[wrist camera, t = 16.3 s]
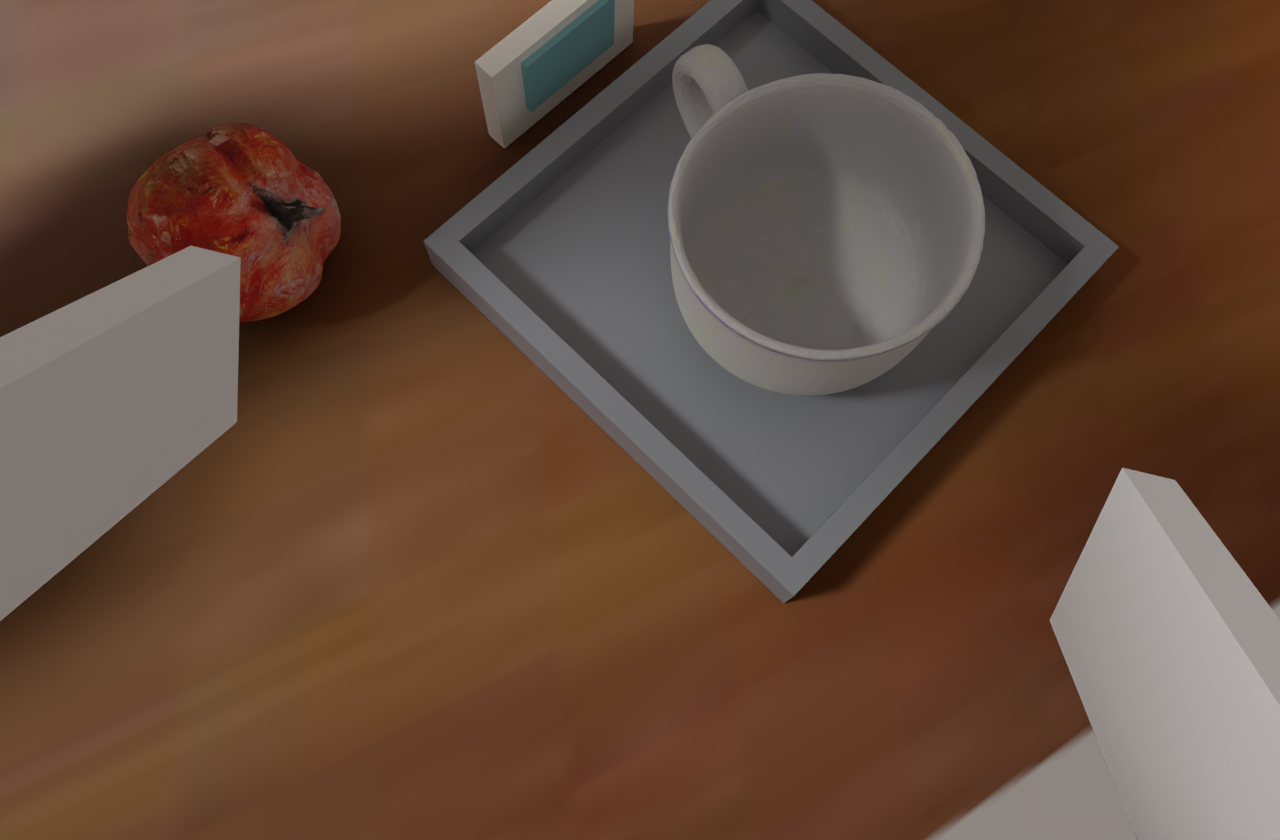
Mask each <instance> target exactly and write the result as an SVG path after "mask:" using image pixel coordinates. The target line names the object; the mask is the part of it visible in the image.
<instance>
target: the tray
mask: <svg viewBox="0 0 1280 840" xmlns="http://www.w3.org/2000/svg"><path fill="white" fill-rule="evenodd" d="M703 44H711V45H714V46H717V47H719V48H720V49H722V50H723V51H724V52H725V53H726V54H727V55H728V56H729V57H730V58H731V60H732V61H733V62H734V64H735V65H736V66H737V68H738V70H739V72H740V74H741V75H742V77H743V79H744V82H745V84H746V86H747V88H748V90H751V89H753V88H756V87H758V86H761V85H764V84H767V83H770V82H773V81H776V80H780V79H785V78H789V77H793V76H799V75H805V74H816V73H828V74H845V75H851V76H856V77H862V78H865V79H869V80H872V81H875V82H878V83H881V84H884V85H887V86H890V87H892V88H894V89H897V90H899V91H901V92H902V93H904V94H906V95H907V96H909V97H911V98H912V99H914V100H915V101H917V102H919V103H921V104H922V105H923V106H924V107H925V108H926V109H927V110H928V111H930V112H931V113H932V114H933V115H934V116H935V117H936V118H938V119H940V120H942V122H943V123H944V124H945V126H946V127H947V129H948V130H950V131H951V132H953V134H954V135H955V136H956V138H957V139H958V141H959V142H960V144H961V145H962V147H963V149H964V150H965V152H966V154H967V156H968V157H969V159H970V160H971V163H972V165H973V167H974V169H975V171H976V174H977V178H978V181H979V184H980V187H981V191H982V196H983V202H984V209H985V234H984V239H983V249H982V251H981V256H980V261H979V263H978V266H977V269H976V272H975V274H974V277H973V279H972V281H971V283H970V285H969V287H968V290H967V291H966V293H965V294H964V295H963V297H962V298H961V300H960V301H959V302H958V304H957V305H956V307H955V308H954V309H953V310H952V311H951V312H950V313H949V314H948V315H947V316H946V317H945V318H944V319H943V320H942V321H941V322H940V323H939V324H938V325H936V326H935V327H934V328H933V329H931V330H930V332H929V333H928V334H927V335H926V336H925V337H924V339H923V340H922V341H921V342H920V343H919V344H918V345H917V346H916V347H915V348H914V349H913V350H912V351H911V352H910V353H909V354H908V355H907V356H906V357H904V358H903V359H902V360H901V361H900V362H899V363H898V364H897V365H895V366H894V367H892V368H891V369H890V370H888V371H887V372H885V373H884V374H882V375H880V376H879V377H877V378H875V379H873V380H871V381H869V382H867V383H865V384H863V385H860V386H858V387H855V388H853V389H849V390H845V391H842V392H838V393H833V394H827V395H817V396H797V395H789V394H781V393H777V392H773V391H769V390H766V389H763V388H760V387H757V386H755V385H752V384H750V383H748V382H746V381H744V380H742V379H740V378H739V377H737V376H735V375H733V374H732V373H730V372H729V371H727V370H726V369H725V368H723V367H722V366H721V365H720V364H718V363H717V362H716V361H715V360H714V359H713V358H712V357H711V356H710V355H709V354H708V353H707V352H706V351H705V350H704V349H703V348H702V347H701V346H700V344H699V343H698V342H697V340H696V339H695V337H694V336H693V334H692V333H691V331H690V329H689V328H688V326H687V324H686V322H685V320H684V318H683V316H682V313H681V311H680V308H679V305H678V302H677V299H676V295H675V291H674V287H673V280H672V272H671V261H670V237H669V232H668V196H669V189H670V185H671V182H672V179H673V175H674V172H675V169H676V166H677V163H678V161H679V160H680V158H681V156H682V155H683V153H684V151H685V149H686V146H687V144H688V143H689V142H690V140H691V137H690V135H689V133H688V131H687V129H686V126H685V124H684V122H683V119H682V117H681V114H680V112H679V109H678V106H677V103H676V100H675V96H674V92H673V83H672V73H673V68H674V66H675V64H676V61H677V60H678V59H679V58H680V57H681V56H682V55H684V54H685V53H686V52H688V51H689V50H691V49H692V48H694V47H696V46H700V45H703ZM423 242H424V244H425V247H426V250H427V252H428V255H429V258H430V260H431V263H432V266H433V267H434V268H436V269H437V270H438V271H439V272H440V273H441V274H442V275H443V276H444V277H445V278H446V279H447V280H448V281H449V282H450V283H451V284H452V285H453V286H454V287H455V288H456V289H457V290H458V291H459V292H460V293H461V294H463V295H464V296H465V297H466V298H467V299H468V300H469V301H470V302H471V303H472V304H473V305H474V306H475V307H476V308H477V309H478V310H479V311H480V312H481V313H482V314H483V315H484V316H485V317H486V318H487V319H489V320H490V321H491V322H492V323H493V324H494V325H495V326H496V327H497V328H498V329H499V330H500V331H501V332H502V333H503V334H504V335H505V336H506V337H507V338H508V339H509V340H510V341H511V342H512V343H513V344H514V345H516V346H517V347H518V348H519V349H520V350H521V351H522V352H523V353H524V354H525V355H526V356H527V357H528V358H529V359H530V360H531V361H532V362H533V363H534V364H535V365H536V366H537V367H538V368H539V369H540V370H542V371H543V372H544V373H545V374H546V375H547V376H548V377H549V378H550V379H551V380H552V381H553V382H554V383H555V384H556V385H557V386H558V387H559V388H560V389H561V390H562V391H563V392H564V393H565V394H566V395H568V396H569V397H570V398H571V399H572V400H573V401H574V402H575V403H576V404H577V405H578V406H579V407H580V408H581V409H582V410H583V411H584V412H585V413H586V414H587V415H588V416H589V417H590V418H591V419H592V420H593V421H595V422H596V423H597V424H598V425H599V426H600V427H601V428H602V429H603V430H604V431H605V432H606V433H607V434H608V435H609V436H610V437H611V438H612V439H613V440H614V441H615V442H616V443H617V444H618V445H619V446H621V447H622V448H623V449H624V450H625V451H626V452H627V453H628V454H629V455H630V456H631V457H632V458H633V459H634V460H635V461H636V462H637V463H638V464H639V465H640V466H641V467H642V468H643V469H644V470H645V471H646V472H648V473H649V474H650V475H651V476H652V477H653V478H654V479H655V480H656V481H657V482H658V483H659V484H660V485H661V486H662V487H663V488H664V489H665V490H666V491H667V492H668V493H669V494H670V495H671V496H672V497H674V498H675V499H676V500H677V501H678V502H679V503H680V504H681V505H682V506H683V507H684V508H685V509H686V510H687V511H688V512H689V513H690V514H691V515H692V516H693V517H694V518H695V519H696V520H697V521H698V522H700V523H701V524H702V525H703V526H704V527H705V528H706V529H707V530H708V531H709V532H710V533H711V534H712V535H713V536H714V537H715V538H716V539H717V540H718V541H719V542H720V543H721V544H722V545H723V546H724V547H725V548H727V549H728V550H729V551H730V552H731V553H732V554H733V555H734V556H735V557H736V558H737V559H738V560H739V561H740V562H741V563H742V564H743V565H744V566H745V567H746V568H747V569H748V570H749V571H750V572H751V573H753V574H754V575H755V576H756V577H757V578H758V579H759V580H760V581H761V582H762V583H763V584H764V585H765V586H766V587H767V588H768V589H769V590H770V591H771V592H772V593H773V594H774V595H775V596H776V597H777V598H778V599H780V600H781V601H782V602H783V603H785V602H787V601H788V600H789V599H791V598H792V597H793V596H795V595H796V593H797V592H798V591H799V590H800V589H801V588H802V587H803V586H804V585H805V584H806V583H807V582H808V581H809V579H810V578H811V577H812V576H813V575H814V574H815V573H816V572H817V571H818V570H819V569H820V568H821V567H822V566H823V564H824V563H825V562H826V561H827V560H828V559H829V558H830V557H831V556H832V555H833V554H834V553H835V552H836V550H837V549H838V548H839V547H840V546H841V545H842V544H843V543H844V542H845V541H846V540H847V539H848V538H849V537H850V535H851V534H852V533H853V532H854V531H855V530H856V529H857V528H858V527H859V526H860V525H861V524H862V523H863V521H864V520H865V519H866V518H867V517H868V516H869V515H870V514H871V513H872V512H873V511H874V510H875V509H876V507H877V506H878V505H879V504H880V503H881V502H882V501H883V500H884V499H885V498H886V497H887V496H888V495H889V494H890V492H891V491H892V490H893V489H894V488H895V487H896V486H897V485H898V484H899V483H900V482H901V481H902V480H903V478H904V477H905V476H906V475H907V474H908V473H909V472H910V471H911V470H912V469H913V468H914V467H915V466H916V465H917V463H918V462H919V461H920V460H921V459H922V458H923V457H924V456H925V455H926V454H927V453H928V452H929V451H930V449H931V448H932V447H933V446H934V445H935V444H936V443H937V442H938V441H939V440H940V439H941V438H942V437H943V435H944V434H945V433H946V432H947V431H948V430H949V429H950V428H951V427H952V426H953V425H954V424H955V423H956V422H957V420H958V419H959V418H960V417H961V416H962V415H963V414H964V413H965V412H966V411H967V410H968V409H969V408H970V406H971V405H972V404H973V403H974V402H975V401H976V400H977V399H978V398H979V397H980V396H981V395H982V394H983V393H984V391H985V390H986V389H987V388H988V387H989V386H990V385H991V384H992V383H993V382H994V381H995V380H996V379H997V377H998V376H999V375H1000V374H1001V373H1002V372H1003V371H1004V370H1005V369H1006V368H1007V367H1008V366H1009V365H1010V363H1011V362H1012V361H1013V360H1014V359H1015V358H1016V357H1017V356H1018V355H1019V354H1020V353H1021V352H1022V351H1023V350H1024V348H1025V347H1026V346H1027V345H1028V344H1029V343H1030V342H1031V341H1032V340H1033V339H1034V338H1035V337H1036V336H1037V334H1038V333H1039V332H1040V331H1041V330H1042V329H1043V328H1044V327H1045V326H1046V325H1047V324H1048V323H1049V322H1050V321H1051V319H1052V318H1053V317H1054V316H1055V315H1056V314H1057V313H1058V312H1059V311H1060V310H1061V309H1062V308H1063V307H1064V305H1065V304H1066V303H1067V302H1068V301H1069V300H1070V299H1071V298H1072V297H1073V296H1074V295H1075V294H1076V293H1077V291H1078V290H1079V289H1080V288H1081V287H1082V286H1083V285H1084V284H1085V283H1086V282H1087V281H1088V280H1089V279H1090V278H1091V276H1092V275H1093V274H1094V273H1095V272H1096V271H1097V270H1098V269H1099V268H1100V267H1101V266H1102V265H1103V264H1104V262H1105V261H1106V260H1107V259H1108V258H1109V257H1110V256H1111V255H1112V254H1113V253H1114V252H1115V251H1116V250H1117V249H1118V247H1119V246H1118V245H1116V244H1115V243H1114V242H1113V241H1111V240H1110V239H1109V238H1108V237H1106V236H1105V235H1104V234H1103V233H1101V232H1100V231H1099V230H1098V229H1096V228H1095V227H1094V226H1093V225H1092V224H1090V223H1089V222H1088V221H1087V220H1085V219H1084V218H1083V217H1082V216H1080V215H1079V214H1078V213H1077V212H1075V211H1074V210H1073V209H1072V208H1070V207H1069V206H1068V205H1067V204H1065V203H1064V202H1063V201H1062V200H1060V199H1059V198H1058V197H1057V196H1055V195H1054V194H1053V193H1052V192H1050V191H1049V190H1048V189H1047V188H1045V187H1044V186H1043V185H1042V184H1040V183H1039V182H1038V181H1037V180H1035V179H1034V178H1033V177H1032V176H1030V175H1029V174H1028V173H1027V172H1025V171H1024V170H1023V169H1022V168H1020V167H1019V166H1018V165H1017V164H1015V163H1014V162H1013V161H1012V160H1010V159H1009V158H1008V157H1007V156H1005V155H1004V154H1003V153H1002V152H1000V151H999V150H998V149H997V148H995V147H994V146H993V145H992V144H990V143H989V142H988V141H987V140H986V139H984V138H983V137H982V136H981V135H979V134H978V133H977V132H976V131H974V130H973V129H972V128H971V127H969V126H968V125H967V124H966V123H964V122H963V121H962V120H961V119H959V118H958V117H957V116H956V115H954V114H953V113H952V112H951V111H949V110H948V109H947V108H946V107H944V106H943V105H942V104H941V103H939V102H938V101H937V100H936V99H934V98H933V97H932V96H931V95H929V94H928V93H927V92H926V91H924V90H923V89H922V88H921V87H919V86H918V85H917V84H916V83H914V82H913V81H912V80H911V79H909V78H908V77H907V76H906V75H904V74H903V73H902V72H901V71H899V70H898V69H897V68H896V67H894V66H893V65H892V64H891V63H889V62H888V61H887V60H886V59H885V58H883V57H882V56H881V55H880V54H878V53H877V52H876V51H875V50H873V49H872V48H871V47H870V46H868V45H867V44H866V43H865V42H863V41H862V40H861V39H860V38H858V37H857V36H856V35H855V34H853V33H852V32H851V31H850V30H848V29H847V28H846V27H845V26H843V25H842V24H841V23H840V22H838V21H837V20H836V19H835V18H833V17H832V16H831V15H830V14H828V13H827V12H826V11H825V10H823V9H822V8H821V7H820V6H818V5H817V4H816V3H815V2H813V1H812V0H710V1H709V2H708V3H706V4H705V5H704V6H703V7H702V8H701V9H699V10H698V11H697V12H696V13H695V14H693V15H692V16H691V17H690V18H689V19H687V20H686V21H685V22H684V23H683V24H681V25H680V26H679V27H678V28H677V29H675V30H674V31H673V32H672V33H671V34H669V35H668V36H667V37H666V38H665V39H664V40H662V41H661V42H660V43H659V44H658V45H656V46H655V47H654V48H653V49H652V50H650V51H649V52H648V53H647V54H646V55H644V56H643V57H642V58H641V59H640V60H638V61H637V62H636V63H635V64H634V65H633V66H631V67H630V68H629V69H628V70H627V71H625V72H624V73H623V74H622V75H621V76H619V77H618V78H617V79H616V80H615V81H613V82H612V83H611V84H610V85H609V86H607V87H606V88H605V89H604V90H603V91H601V92H600V93H599V94H598V95H597V96H596V97H594V98H593V99H592V100H591V101H590V102H588V103H587V104H586V105H585V106H584V107H582V108H581V109H580V110H579V111H578V112H576V113H575V114H574V115H573V116H572V117H570V118H569V119H568V120H567V121H566V122H564V123H563V124H562V125H561V126H560V127H559V128H557V129H556V130H555V131H554V132H553V133H551V134H550V135H549V136H548V137H547V138H545V139H544V140H543V141H542V142H541V143H539V144H538V145H537V146H536V147H535V148H533V149H532V150H531V151H530V152H529V153H528V154H526V155H525V156H524V157H523V158H522V159H520V160H519V161H518V162H517V163H516V164H514V165H513V166H512V167H511V168H510V169H508V170H507V171H506V172H505V173H504V174H502V175H501V176H500V177H499V178H498V179H496V180H495V181H494V182H493V183H492V184H491V185H489V186H488V187H487V188H486V189H485V190H483V191H482V192H481V193H480V194H479V195H477V196H476V197H475V198H474V199H473V200H471V201H470V202H469V203H468V204H467V205H465V206H464V207H463V208H462V209H461V210H460V211H458V212H457V213H456V214H455V215H454V216H452V217H451V218H450V219H449V220H448V221H446V222H445V223H444V224H443V225H442V226H440V227H439V228H438V229H437V230H436V231H434V232H433V233H432V234H431V235H430V236H428V237H427V238H426V239H425V240H424V241H423Z"/></svg>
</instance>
